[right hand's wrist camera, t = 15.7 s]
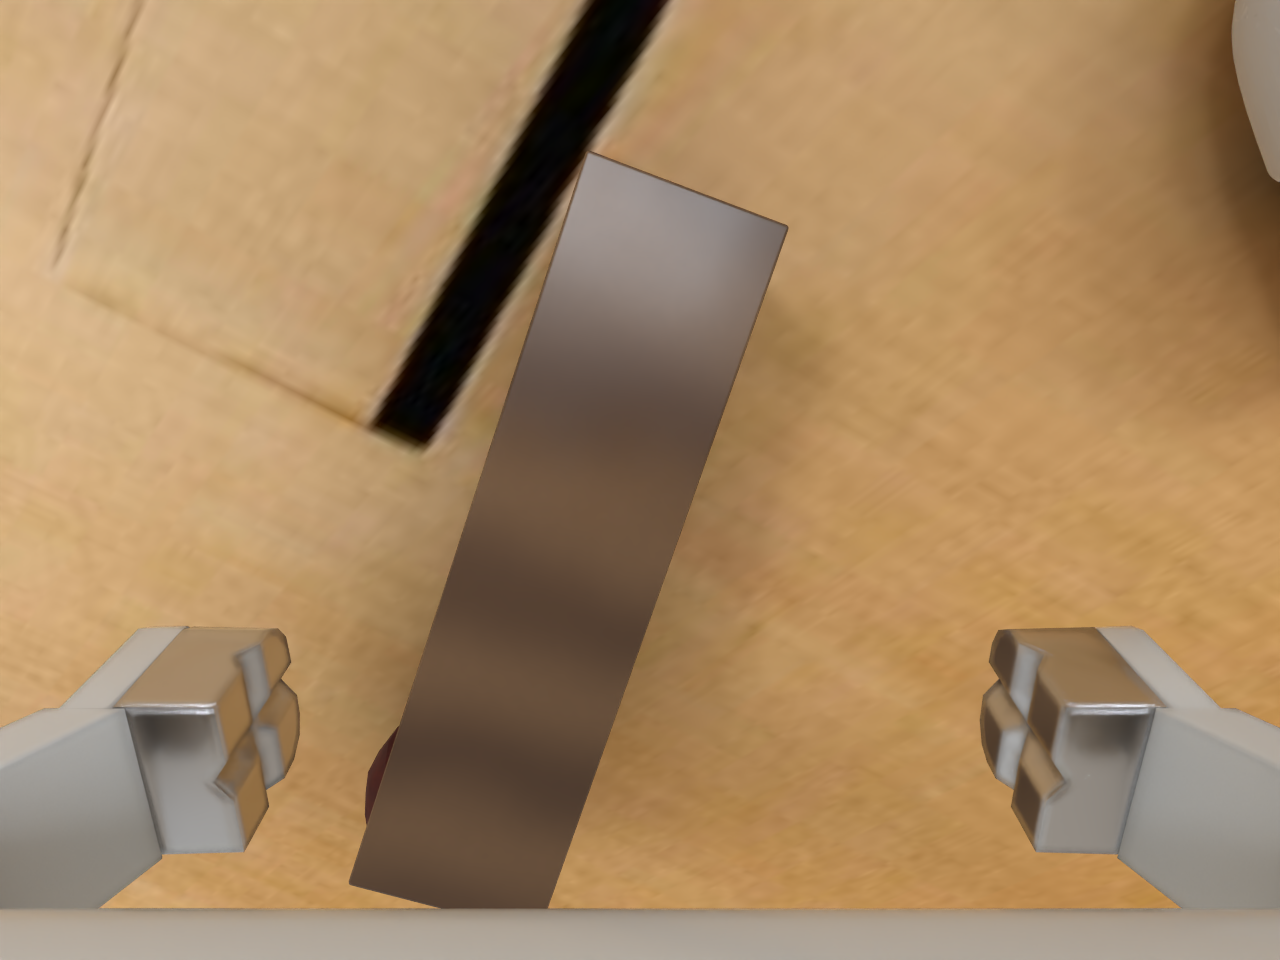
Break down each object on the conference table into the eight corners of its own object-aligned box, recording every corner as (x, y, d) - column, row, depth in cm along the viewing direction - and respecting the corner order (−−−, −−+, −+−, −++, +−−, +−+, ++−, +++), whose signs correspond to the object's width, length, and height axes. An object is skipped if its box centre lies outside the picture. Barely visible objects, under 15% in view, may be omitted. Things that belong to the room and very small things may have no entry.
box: (580, 201, 33) (586, 148, 24) (731, 257, 34) (790, 225, 25) (400, 754, 35) (347, 885, 27) (544, 794, 36) (538, 935, 27)
